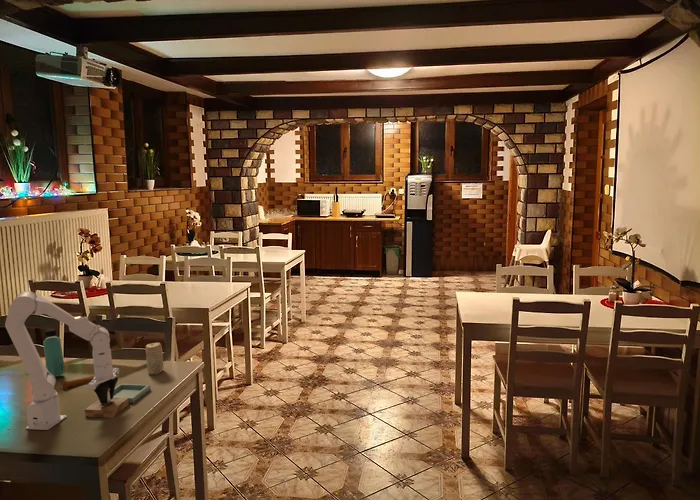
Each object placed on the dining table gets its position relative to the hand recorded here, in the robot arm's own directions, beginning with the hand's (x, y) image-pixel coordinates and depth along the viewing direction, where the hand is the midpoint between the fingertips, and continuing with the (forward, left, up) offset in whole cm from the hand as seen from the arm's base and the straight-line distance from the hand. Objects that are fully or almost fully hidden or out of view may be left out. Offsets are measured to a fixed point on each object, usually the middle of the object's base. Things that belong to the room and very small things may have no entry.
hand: (106, 401), depth 185 cm
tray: (+12, 0, -3) cm, 12 cm away
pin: (0, 0, -3) cm, 3 cm away
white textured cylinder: (+35, +1, -4) cm, 35 cm away
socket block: (0, 0, -3) cm, 3 cm away
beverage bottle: (+27, +40, -4) cm, 48 cm away
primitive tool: (+24, +24, -4) cm, 34 cm away
